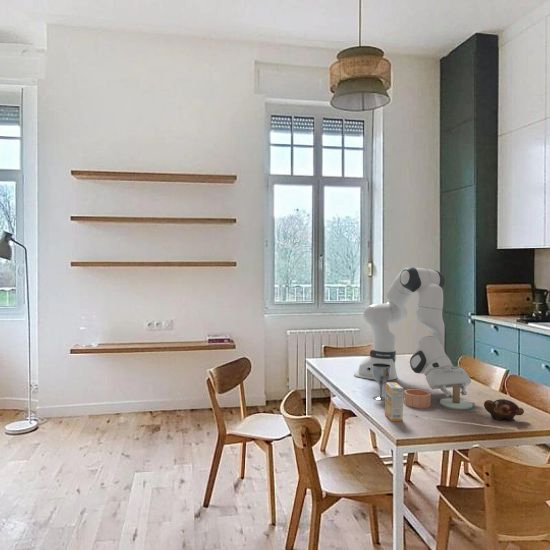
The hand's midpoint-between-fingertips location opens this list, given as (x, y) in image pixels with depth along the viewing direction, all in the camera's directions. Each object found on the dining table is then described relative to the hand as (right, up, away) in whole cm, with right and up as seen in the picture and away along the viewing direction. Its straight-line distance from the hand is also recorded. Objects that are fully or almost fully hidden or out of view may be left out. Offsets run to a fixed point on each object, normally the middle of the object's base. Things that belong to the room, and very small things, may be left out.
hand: (457, 395), depth 209 cm
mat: (0, -5, +1) cm, 5 cm away
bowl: (-17, -5, +2) cm, 17 cm away
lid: (0, -4, +1) cm, 4 cm away
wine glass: (-30, -4, +11) cm, 32 cm away
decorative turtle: (+12, -6, -16) cm, 21 cm away
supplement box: (-31, -5, -16) cm, 35 cm away
